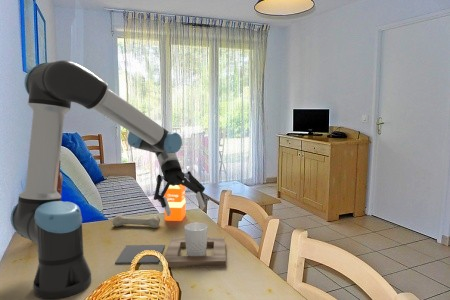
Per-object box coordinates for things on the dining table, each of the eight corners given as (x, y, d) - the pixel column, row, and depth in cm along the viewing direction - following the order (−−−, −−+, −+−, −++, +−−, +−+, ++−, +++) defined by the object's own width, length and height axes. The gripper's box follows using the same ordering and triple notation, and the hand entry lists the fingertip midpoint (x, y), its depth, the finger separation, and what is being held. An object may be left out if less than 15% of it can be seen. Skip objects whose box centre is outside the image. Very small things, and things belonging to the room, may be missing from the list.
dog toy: (162, 224, 152) (161, 213, 151) (157, 229, 146) (157, 218, 145) (117, 223, 154) (116, 212, 153) (111, 228, 148) (110, 216, 147)
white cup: (182, 251, 123) (181, 224, 122) (202, 247, 127) (202, 221, 125) (189, 260, 116) (188, 231, 115) (211, 256, 119) (211, 228, 118)
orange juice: (185, 214, 165) (185, 172, 162) (181, 220, 156) (180, 176, 153) (169, 214, 166) (168, 172, 163) (164, 220, 157) (163, 176, 154)
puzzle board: (225, 266, 112) (225, 260, 111) (163, 267, 111) (162, 261, 111) (224, 242, 131) (224, 237, 131) (171, 243, 131) (171, 237, 131)
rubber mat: (158, 263, 114) (158, 261, 114) (115, 264, 114) (115, 262, 114) (164, 246, 128) (164, 244, 128) (126, 246, 128) (126, 245, 128)
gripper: (195, 167, 147) (213, 210, 137) (136, 173, 134) (151, 222, 124) (200, 156, 142) (219, 200, 132) (140, 161, 129) (156, 211, 119)
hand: (186, 211), depth 128 cm, fingers open, 13 cm apart
